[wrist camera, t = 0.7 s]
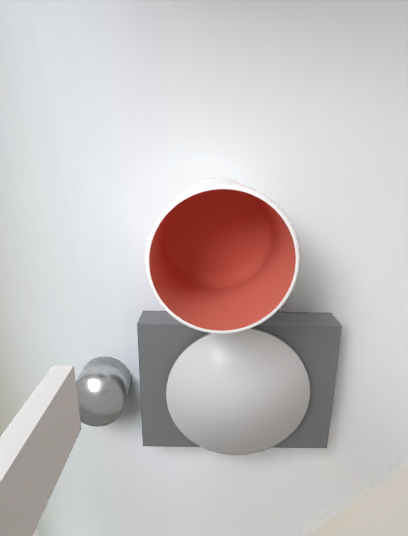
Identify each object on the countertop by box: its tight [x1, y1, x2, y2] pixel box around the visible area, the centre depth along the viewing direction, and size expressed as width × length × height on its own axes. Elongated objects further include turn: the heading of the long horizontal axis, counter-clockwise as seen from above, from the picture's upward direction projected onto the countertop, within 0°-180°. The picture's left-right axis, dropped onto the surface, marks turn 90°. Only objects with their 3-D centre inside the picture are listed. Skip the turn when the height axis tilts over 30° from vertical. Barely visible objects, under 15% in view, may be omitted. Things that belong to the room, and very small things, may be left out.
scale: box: [137, 311, 342, 455], centre depth 35 cm, size 13×18×4 cm
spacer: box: [76, 357, 131, 426], centre depth 35 cm, size 5×5×4 cm
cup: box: [145, 178, 300, 334], centre depth 28 cm, size 10×10×10 cm
